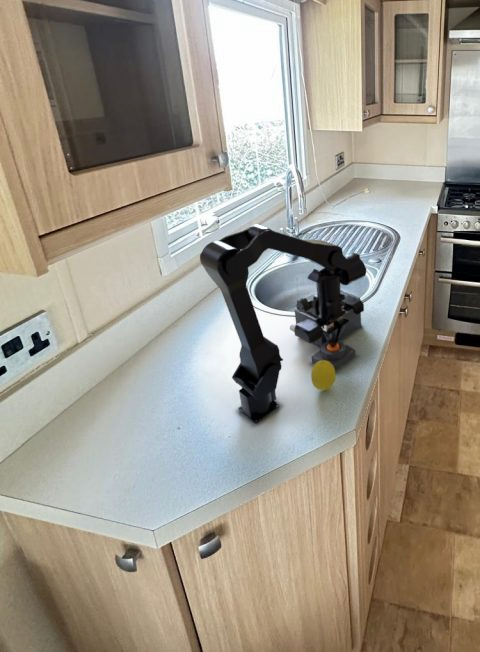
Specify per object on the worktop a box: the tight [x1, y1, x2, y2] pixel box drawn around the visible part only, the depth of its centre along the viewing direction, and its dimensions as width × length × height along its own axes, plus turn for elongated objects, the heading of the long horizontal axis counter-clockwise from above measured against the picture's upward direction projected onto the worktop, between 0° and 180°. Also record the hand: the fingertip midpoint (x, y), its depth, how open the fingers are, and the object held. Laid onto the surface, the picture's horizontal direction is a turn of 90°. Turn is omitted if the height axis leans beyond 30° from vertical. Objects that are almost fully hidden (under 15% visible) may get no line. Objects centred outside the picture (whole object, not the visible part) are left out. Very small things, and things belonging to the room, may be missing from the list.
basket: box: [289, 307, 325, 348], centre depth 113 cm, size 16×10×8 cm, turn 141°
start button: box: [327, 343, 340, 352], centre depth 104 cm, size 3×3×2 cm
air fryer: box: [295, 289, 362, 342], centre depth 116 cm, size 14×12×10 cm
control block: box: [310, 340, 357, 372], centre depth 104 cm, size 9×7×4 cm
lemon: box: [310, 360, 337, 391], centre depth 93 cm, size 6×6×8 cm
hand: (332, 346), depth 103 cm, fingers closed, pressing on start button
